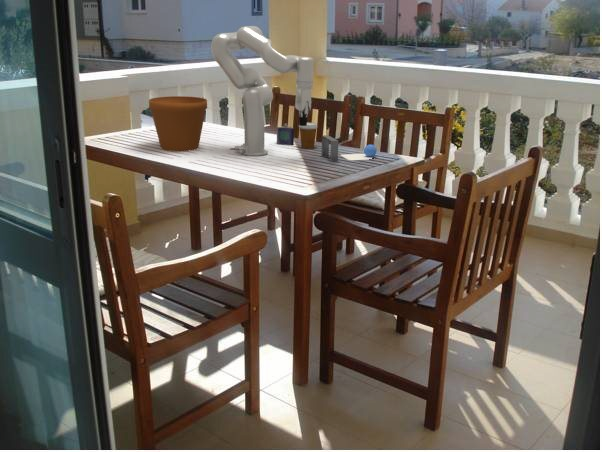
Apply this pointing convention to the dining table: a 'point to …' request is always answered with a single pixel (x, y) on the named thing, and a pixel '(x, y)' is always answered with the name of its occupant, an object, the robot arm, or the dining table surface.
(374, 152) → the ball
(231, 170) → the dining table surface
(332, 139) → the bridge
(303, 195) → the dining table surface
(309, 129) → the disposable coffee cup
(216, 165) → the dining table surface
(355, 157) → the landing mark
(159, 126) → the flowerpot
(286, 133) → the flask
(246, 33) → the robot arm
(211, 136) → the dining table surface
